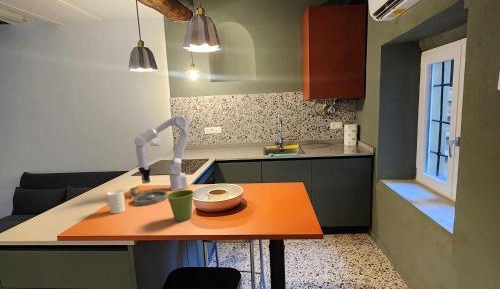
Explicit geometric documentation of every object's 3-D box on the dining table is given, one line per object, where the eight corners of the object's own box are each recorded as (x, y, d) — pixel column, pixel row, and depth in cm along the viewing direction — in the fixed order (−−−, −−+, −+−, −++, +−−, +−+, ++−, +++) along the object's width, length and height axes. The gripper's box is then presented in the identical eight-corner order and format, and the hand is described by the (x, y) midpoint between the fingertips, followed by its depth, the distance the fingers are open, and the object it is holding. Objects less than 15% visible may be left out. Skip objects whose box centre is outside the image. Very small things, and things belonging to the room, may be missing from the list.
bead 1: (139, 194, 172) (138, 186, 171) (139, 197, 168) (138, 188, 167) (131, 196, 170) (129, 188, 170) (131, 198, 166) (129, 190, 165)
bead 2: (150, 180, 174) (148, 172, 173) (150, 182, 170) (149, 174, 169) (142, 182, 173) (140, 174, 172) (142, 184, 168) (141, 175, 168)
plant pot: (200, 218, 127) (197, 193, 126) (173, 226, 122) (170, 200, 120) (192, 210, 138) (189, 187, 136) (166, 217, 132) (163, 193, 130)
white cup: (106, 213, 145) (102, 194, 144) (119, 207, 152) (116, 189, 151) (116, 215, 142) (113, 195, 140) (130, 209, 148) (127, 190, 147)
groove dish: (165, 192, 172) (165, 188, 172) (169, 200, 156) (168, 196, 155) (133, 198, 166) (133, 194, 165) (133, 208, 149) (132, 203, 149)
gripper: (132, 156, 173) (136, 179, 175) (137, 159, 161) (141, 183, 163) (145, 154, 177) (148, 176, 179) (150, 157, 164) (154, 180, 166)
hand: (146, 179), depth 171 cm, fingers closed on bead 2, 4 cm apart
